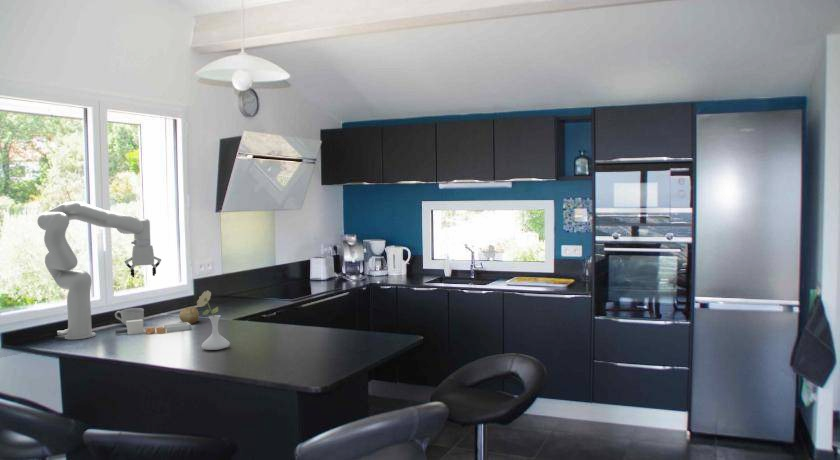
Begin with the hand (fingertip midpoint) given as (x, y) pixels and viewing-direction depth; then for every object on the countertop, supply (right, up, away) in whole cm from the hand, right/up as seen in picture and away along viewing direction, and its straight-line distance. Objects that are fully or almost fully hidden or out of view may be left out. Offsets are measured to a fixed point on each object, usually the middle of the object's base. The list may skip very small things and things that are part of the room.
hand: (143, 276), depth 320 cm
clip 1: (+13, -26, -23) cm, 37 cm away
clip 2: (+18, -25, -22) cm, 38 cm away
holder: (+24, -25, -16) cm, 38 cm away
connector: (+3, -26, -22) cm, 34 cm away
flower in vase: (+56, -26, -60) cm, 86 cm away
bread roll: (+22, -25, +3) cm, 33 cm away
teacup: (-7, -25, 0) cm, 26 cm away
